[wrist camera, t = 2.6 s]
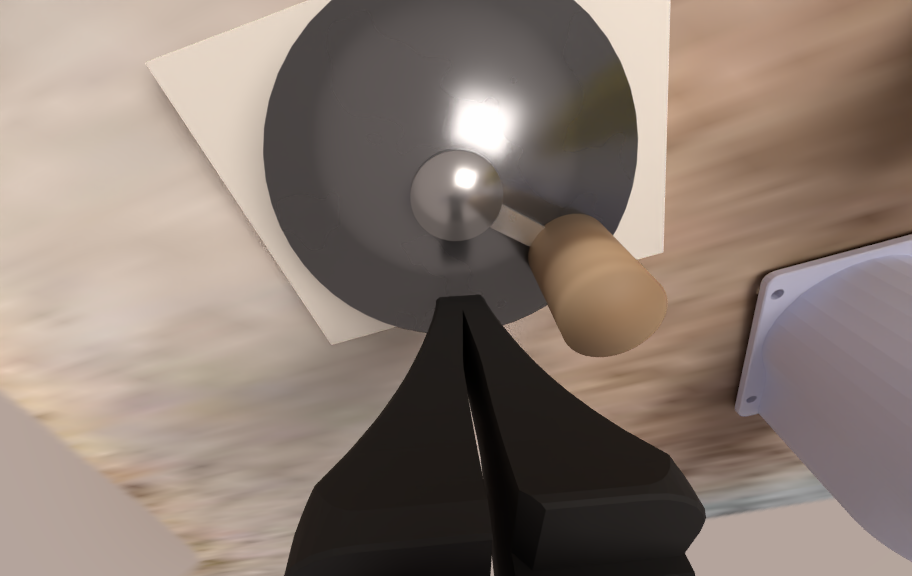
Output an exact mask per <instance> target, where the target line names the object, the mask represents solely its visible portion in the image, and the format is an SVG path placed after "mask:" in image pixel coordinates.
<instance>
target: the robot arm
mask: <svg viewBox="0 0 912 576" xmlns="http://www.w3.org/2000/svg"><path fill="white" fill-rule="evenodd" d="M468 398H469V400H468ZM469 403H470V406H469ZM470 407H471V412H472V417H473V421H474V426H475V430H476V435H477V440H478V445H479V451H480V457H481V465H482V471H481V466H480V461H479V456H478V450H477V445H476V440H475V434H474V429H473V423H472V417H471V412H470ZM735 411H736V412H737V413H738V414H739V415H740V416H744V417H745V416H750V415H755V414H760V415H761V417H762V418H763V419H764V420H765V421H766V422H767V423H768V424H769V425H770V427H771V428H772V429H773V430H774V431H775V432H776V433H777V434H778V435H779V437H780V438H781V439H782V440H783V441H784V442H785V443H786V444H787V446H788V447H789V448H790V449H791V450H792V451H793V452H794V453H795V454H796V456H797V457H798V458H799V459H800V460H801V461H802V462H803V463H804V464H805V466H806V467H807V468H808V469H809V470H810V471H811V472H812V473H813V474H814V476H815V477H816V478H817V479H818V480H819V481H820V482H821V483H822V484H823V486H824V487H825V488H826V489H827V490H828V491H829V492H830V493H831V494H832V496H833V497H834V498H835V499H836V500H837V501H838V502H839V503H840V504H841V506H842V507H843V508H845V510H846V511H847V512H848V513H849V514H850V516H851V517H852V518H853V519H854V520H855V521H856V522H857V523H858V524H859V525H861V526H862V527H863V528H864V529H865V530H866V531H867V532H868V533H869V534H871V535H872V536H873V537H874V538H876V539H877V540H878V541H880V542H881V543H883V544H884V545H885V546H887V547H888V548H890V549H891V550H893V551H894V552H896V553H898V554H899V555H901V556H902V557H904V558H906V559H908V560H910V561H911V562H912V234H910V235H907V236H903V237H899V238H895V239H892V240H888V241H884V242H880V243H877V244H873V245H869V246H865V247H862V248H858V249H854V250H851V251H847V252H843V253H839V254H836V255H832V256H828V257H824V258H821V259H817V260H813V261H809V262H806V263H802V264H798V265H794V266H791V267H787V268H783V269H780V270H776V271H773V272H770V273H769V274H767V275H766V276H765V277H764V278H763V279H762V282H761V285H760V289H759V294H758V299H757V304H756V308H755V313H754V318H753V323H752V328H751V332H750V337H749V342H748V347H747V351H746V356H745V361H744V366H743V370H742V375H741V380H740V385H739V390H738V394H737V399H736V404H735ZM482 473H483V476H482ZM705 519H706V515H705V508H704V507H703V505H702V503H701V502H700V500H699V498H698V497H697V495H696V493H695V492H694V490H693V488H692V487H691V485H690V484H689V482H688V481H687V479H686V477H685V476H684V475H683V473H682V472H681V471H680V469H679V468H678V467H677V465H676V464H675V463H674V461H673V460H672V458H671V457H670V455H668V454H667V453H665V452H663V451H661V450H659V449H658V448H656V447H654V446H652V445H650V444H649V443H647V442H645V441H643V440H641V439H640V438H638V437H636V436H634V435H633V434H631V433H629V432H627V431H625V430H624V429H622V428H621V427H619V426H617V425H616V424H614V423H613V422H611V421H610V420H608V419H606V418H605V417H603V416H602V415H600V414H599V413H597V412H596V411H594V410H593V409H591V408H590V407H589V406H587V405H586V404H585V403H583V402H582V401H581V400H579V399H578V398H577V397H575V396H574V395H572V394H571V393H570V392H568V391H567V390H566V389H565V388H563V387H562V386H561V385H560V384H559V383H557V382H556V381H555V380H554V379H553V378H552V377H551V376H549V375H548V374H547V373H546V372H545V371H544V370H543V369H542V368H541V367H540V366H539V365H538V364H536V363H535V362H534V361H533V360H532V359H531V357H530V356H529V355H528V354H527V353H526V352H525V351H524V350H523V349H522V348H521V347H520V346H519V345H518V343H517V342H516V341H515V340H514V339H513V338H512V336H511V335H510V334H509V333H508V332H507V330H506V329H505V328H504V327H503V325H502V324H501V323H500V322H499V320H498V319H497V317H496V316H495V315H494V313H493V312H492V310H491V309H490V307H489V306H488V304H487V303H486V301H485V299H484V298H483V297H482V296H481V295H464V296H448V297H439V298H438V299H437V300H436V306H435V311H434V315H433V318H432V321H431V324H430V327H429V329H428V332H427V334H426V337H425V339H424V342H423V344H422V346H421V348H420V350H419V352H418V354H417V356H416V358H415V360H414V362H413V364H412V366H411V368H410V370H409V372H408V373H407V375H406V377H405V378H404V380H403V382H402V383H401V385H400V386H399V388H398V390H397V391H396V393H395V394H394V395H393V397H392V398H391V400H390V401H389V403H388V404H387V405H386V407H385V408H384V410H383V411H382V412H381V414H380V415H379V416H378V418H377V419H376V420H375V421H374V423H373V424H372V425H371V426H370V427H369V428H368V430H367V431H366V432H365V433H364V434H363V436H362V437H361V438H360V439H359V440H358V441H357V443H356V444H355V445H354V446H353V447H352V448H351V449H350V451H349V452H348V453H347V454H346V455H345V456H344V457H343V458H342V459H341V460H340V461H339V462H338V463H337V464H336V465H335V466H334V467H333V468H332V469H331V470H330V471H329V472H328V473H327V474H326V475H325V476H324V477H323V478H322V479H321V480H320V481H319V482H318V483H317V484H316V485H315V486H314V489H313V491H312V493H311V495H310V497H309V499H308V502H307V504H306V506H305V509H304V511H303V514H302V516H301V519H300V521H299V524H298V527H297V530H296V532H295V535H294V539H293V542H292V546H291V551H290V555H289V559H288V563H287V567H286V571H285V575H284V576H490V573H491V572H490V571H491V558H492V560H493V569H494V576H695V573H694V571H693V568H692V566H691V565H690V562H689V561H688V559H687V557H686V555H685V552H686V550H687V549H688V548H689V546H690V545H691V543H692V542H693V541H694V539H695V538H696V537H697V535H698V534H699V532H700V531H701V529H702V527H703V524H704V522H705Z"/></svg>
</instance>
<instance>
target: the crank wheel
mask: <svg viewBox="0 0 912 576" xmlns="http://www.w3.org/2000/svg"><path fill="white" fill-rule="evenodd" d="M637 152H638V130H637V118H636V110H635V106H634V101H633V97H632V92H631V88H630V85H629V82H628V79H627V77H626V74H625V71H624V69H623V66H622V63H621V61H620V59H619V58H618V56H617V54H616V52H615V50H614V49H613V47H612V45H611V43H610V41H609V40H608V38H607V36H606V35H605V34H604V32H603V31H602V30H601V29H600V27H599V26H598V25H597V23H596V22H595V21H594V20H593V18H592V17H591V16H590V15H589V14H588V13H587V12H586V11H585V10H584V9H583V8H582V7H581V6H580V5H579V4H578V3H577V2H576V1H574V0H331V1H330V2H329V3H328V4H327V5H326V6H325V7H324V8H323V9H322V10H321V11H320V12H319V13H318V14H317V15H316V16H315V17H314V18H313V19H312V20H311V21H310V22H309V23H308V24H307V26H306V27H305V29H304V30H303V31H302V33H301V34H300V35H299V37H298V38H297V40H296V41H295V42H294V44H293V45H292V46H291V48H290V50H289V52H288V54H287V56H286V58H285V60H284V62H283V64H282V66H281V68H280V70H279V72H278V74H277V77H276V80H275V83H274V86H273V89H272V92H271V95H270V98H269V102H268V108H267V113H266V119H265V125H264V141H263V159H264V169H265V178H266V183H267V188H268V192H269V196H270V200H271V204H272V207H273V209H274V212H275V215H276V217H277V220H278V222H279V225H280V227H281V229H282V231H283V233H284V235H285V237H286V238H287V240H288V242H289V244H290V246H291V248H292V249H293V250H294V252H295V253H296V255H297V256H298V257H299V259H300V260H301V262H302V263H303V265H304V266H305V267H306V268H307V269H308V270H309V271H310V272H311V274H312V275H313V276H314V277H315V278H316V279H317V280H318V281H319V282H320V283H321V284H322V285H323V286H324V287H326V288H327V289H328V290H329V291H330V292H331V293H332V294H333V295H335V296H336V297H338V298H339V299H341V300H342V301H343V302H345V303H346V304H348V305H349V306H351V307H352V308H354V309H356V310H358V311H360V312H362V313H363V314H365V315H367V316H369V317H372V318H374V319H376V320H379V321H381V322H384V323H386V324H390V325H393V326H396V327H400V328H403V329H408V330H413V331H418V332H425V333H427V332H428V329H429V327H430V324H431V321H432V318H433V315H434V311H435V306H436V300H437V299H438V298H439V297H448V296H464V295H481V296H482V297H483V298H484V299H485V301H486V303H487V304H488V306H489V307H490V309H491V310H492V312H493V313H494V315H495V316H496V317H497V319H498V320H499V322H500V323H501V324H502V325H505V324H508V323H511V322H514V321H517V320H519V319H521V318H523V317H526V316H528V315H530V314H532V313H534V312H536V311H538V310H539V309H541V308H543V307H545V306H546V305H548V307H549V309H550V311H551V313H552V315H553V317H554V319H555V321H556V324H557V326H558V328H559V330H560V332H561V334H562V336H563V338H564V340H565V342H566V343H567V345H568V346H569V347H570V348H571V349H573V350H574V351H576V352H578V353H580V354H582V355H585V356H591V357H608V356H613V355H617V354H621V353H624V352H626V351H629V350H631V349H633V348H635V347H637V346H638V345H640V344H641V343H643V342H644V341H645V340H647V339H648V338H649V337H650V336H651V335H652V334H653V333H654V332H655V331H656V330H657V329H658V327H659V326H660V324H661V323H662V321H663V319H664V317H665V314H666V311H667V296H666V292H665V290H664V288H663V287H662V286H661V284H660V283H659V282H658V281H657V280H656V279H655V278H654V277H653V276H652V275H651V274H650V273H649V272H648V271H647V270H646V269H645V268H644V267H643V266H642V265H641V264H640V263H639V262H638V261H637V260H636V259H635V258H634V257H633V256H632V255H631V254H630V253H629V252H628V251H627V249H626V248H625V247H624V246H623V245H622V244H621V243H620V242H619V241H618V240H617V239H616V238H615V237H614V236H613V235H614V233H615V232H616V230H617V228H618V226H619V223H620V221H621V219H622V216H623V214H624V212H625V210H626V207H627V204H628V200H629V197H630V194H631V191H632V187H633V182H634V177H635V171H636V165H637Z"/></svg>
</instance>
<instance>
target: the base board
mask: <svg viewBox="0 0 912 576" xmlns="http://www.w3.org/2000/svg"><path fill="white" fill-rule="evenodd" d="M330 1H331V0H307V1H305V2H302V3H299V4H297V5H294V6H291V7H289V8H286V9H283V10H281V11H278V12H276V13H273V14H270V15H268V16H265V17H262V18H260V19H257V20H255V21H252V22H249V23H247V24H244V25H241V26H239V27H236V28H234V29H231V30H228V31H226V32H223V33H220V34H218V35H215V36H213V37H210V38H207V39H205V40H202V41H199V42H197V43H194V44H192V45H189V46H186V47H184V48H181V49H178V50H176V51H173V52H171V53H168V54H165V55H163V56H160V57H157V58H155V59H152V60H150V61H147V62H145V64H146V65H147V67H148V68H149V70H150V71H151V73H152V74H153V76H154V77H155V79H156V80H157V82H158V84H159V85H160V87H161V88H162V90H163V91H164V93H165V94H166V96H167V97H168V99H169V100H170V102H171V103H172V105H173V106H174V108H175V109H176V111H177V112H178V114H179V115H180V117H181V118H182V120H183V121H184V123H185V124H186V126H187V127H188V129H189V130H190V132H191V133H192V135H193V137H194V138H195V140H196V141H197V143H198V144H199V146H200V147H201V149H202V150H203V152H204V153H205V155H206V156H207V158H208V159H209V161H210V162H211V164H212V165H213V167H214V168H215V170H216V171H217V173H218V174H219V176H220V177H221V179H222V180H223V182H224V183H225V185H226V186H227V188H228V190H229V191H230V193H231V194H232V196H233V197H234V199H235V200H236V202H237V203H238V205H239V206H240V208H241V209H242V211H243V212H244V214H245V215H246V217H247V218H248V220H249V221H250V223H251V224H252V226H253V227H254V229H255V230H256V232H257V233H258V235H259V236H260V238H261V239H262V241H263V243H264V244H265V246H266V247H267V249H268V250H269V252H270V253H271V255H272V256H273V258H274V259H275V261H276V262H277V264H278V265H279V267H280V268H281V270H282V271H283V273H284V274H285V276H286V277H287V279H288V280H289V282H290V283H291V285H292V286H293V288H294V289H295V291H296V293H297V294H298V296H299V297H300V299H301V300H302V302H303V303H304V305H305V306H306V308H307V309H308V311H309V312H310V314H311V315H312V317H313V318H314V320H315V321H316V323H317V324H318V326H319V327H320V329H321V330H322V332H323V333H324V335H325V336H326V338H327V339H328V341H329V342H330V344H331V345H334V344H338V343H341V342H345V341H348V340H352V339H355V338H359V337H363V336H366V335H370V334H373V333H377V332H380V331H384V330H388V329H391V328H395V327H396V326H393V325H390V324H386V323H384V322H381V321H379V320H376V319H374V318H372V317H369V316H367V315H365V314H363V313H362V312H360V311H358V310H356V309H354V308H352V307H351V306H349V305H348V304H346V303H345V302H343V301H342V300H341V299H339V298H338V297H336V296H335V295H333V294H332V293H331V292H330V291H329V290H328V289H327V288H326V287H324V286H323V285H322V284H321V283H320V282H319V281H318V280H317V279H316V278H315V277H314V276H313V275H312V274H311V272H310V271H309V270H308V269H307V268H306V267H305V266H304V265H303V263H302V262H301V260H300V259H299V257H298V256H297V255H296V253H295V252H294V250H293V249H292V248H291V246H290V244H289V242H288V240H287V238H286V237H285V235H284V233H283V231H282V229H281V227H280V225H279V222H278V220H277V217H276V215H275V212H274V209H273V207H272V204H271V200H270V196H269V192H268V188H267V183H266V178H265V169H264V159H263V141H264V125H265V119H266V113H267V108H268V102H269V98H270V95H271V92H272V89H273V86H274V83H275V80H276V77H277V74H278V72H279V70H280V68H281V66H282V64H283V62H284V60H285V58H286V56H287V54H288V52H289V50H290V48H291V46H292V45H293V44H294V42H295V41H296V40H297V38H298V37H299V35H300V34H301V33H302V31H303V30H304V29H305V27H306V26H307V24H308V23H309V22H310V21H311V20H312V19H313V18H314V17H315V16H316V15H317V14H318V13H319V12H320V11H321V10H322V9H323V8H324V7H325V6H326V5H327V4H328V3H329V2H330ZM574 1H576V2H577V3H578V4H579V5H580V6H581V7H582V8H583V9H584V10H585V11H586V12H587V13H588V14H589V15H590V16H591V17H592V18H593V20H594V21H595V22H596V23H597V25H598V26H599V27H600V29H601V30H602V31H603V32H604V34H605V35H606V36H607V38H608V40H609V41H610V43H611V45H612V47H613V49H614V50H615V52H616V54H617V56H618V58H619V59H620V61H621V63H622V66H623V69H624V71H625V74H626V77H627V79H628V82H629V85H630V88H631V92H632V97H633V101H634V106H635V110H636V118H637V130H638V152H637V165H636V171H635V177H634V182H633V187H632V191H631V194H630V197H629V200H628V204H627V207H626V210H625V212H624V214H623V216H622V219H621V221H620V223H619V226H618V228H617V230H616V232H615V233H614V235H613V236H614V237H615V238H616V239H617V240H618V241H619V242H620V243H621V244H622V245H623V246H624V247H625V248H626V249H627V251H628V252H629V253H630V254H631V255H632V256H633V257H634V258H635V259H636V260H638V259H641V258H645V257H648V256H652V255H655V254H659V253H662V252H663V249H664V214H665V178H666V142H667V106H668V70H669V34H670V0H574Z"/></svg>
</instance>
